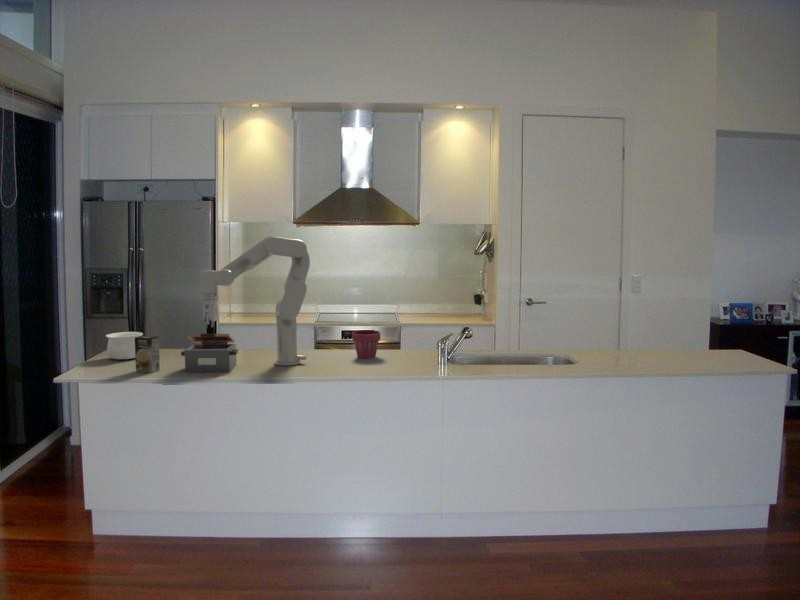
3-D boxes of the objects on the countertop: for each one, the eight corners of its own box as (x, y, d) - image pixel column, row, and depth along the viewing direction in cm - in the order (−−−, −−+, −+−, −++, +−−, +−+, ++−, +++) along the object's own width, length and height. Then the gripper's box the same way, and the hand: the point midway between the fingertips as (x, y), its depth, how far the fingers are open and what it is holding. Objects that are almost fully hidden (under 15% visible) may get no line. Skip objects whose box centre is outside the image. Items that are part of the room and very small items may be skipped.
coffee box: (135, 372, 319) (133, 337, 317) (143, 369, 325) (142, 335, 323) (152, 373, 317) (151, 338, 315) (160, 370, 323) (159, 336, 321)
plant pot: (368, 360, 343) (367, 335, 341) (346, 357, 351) (346, 332, 350) (386, 356, 354) (386, 331, 353) (364, 353, 362) (364, 329, 361)
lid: (234, 343, 333) (235, 337, 334) (228, 336, 318) (228, 330, 318) (194, 344, 333) (195, 338, 333) (185, 337, 317) (186, 330, 318)
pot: (136, 362, 342) (135, 337, 341) (100, 363, 341) (99, 338, 340) (149, 354, 364) (148, 331, 363) (115, 354, 363) (113, 331, 361)
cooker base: (241, 364, 334) (240, 343, 333) (234, 372, 318) (234, 349, 317) (189, 365, 333) (188, 343, 332) (179, 372, 317) (178, 350, 316)
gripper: (213, 298, 316) (214, 338, 318) (221, 295, 331) (222, 333, 333) (197, 298, 316) (198, 338, 318) (205, 295, 330) (206, 333, 332)
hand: (210, 336), depth 325 cm, fingers closed
